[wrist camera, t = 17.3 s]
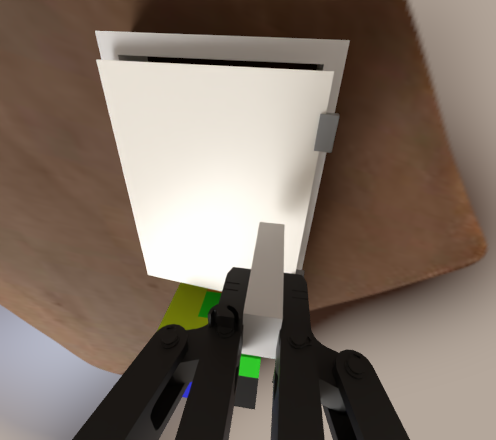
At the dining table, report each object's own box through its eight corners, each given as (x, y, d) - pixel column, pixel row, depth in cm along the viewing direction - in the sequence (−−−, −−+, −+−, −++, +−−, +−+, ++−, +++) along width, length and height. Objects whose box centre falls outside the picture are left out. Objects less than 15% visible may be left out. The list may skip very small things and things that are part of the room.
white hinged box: (129, 36, 19) (95, 31, 15) (337, 44, 17) (349, 40, 14) (165, 244, 29) (149, 267, 26) (297, 259, 28) (298, 286, 25)
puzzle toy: (194, 318, 36) (166, 394, 28) (187, 267, 31) (151, 342, 23) (262, 327, 36) (254, 409, 27) (267, 277, 30) (260, 359, 22)
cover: (105, 59, 16) (93, 59, 15) (347, 71, 13) (349, 72, 12) (152, 269, 25) (146, 276, 25) (297, 301, 23) (296, 310, 22)
